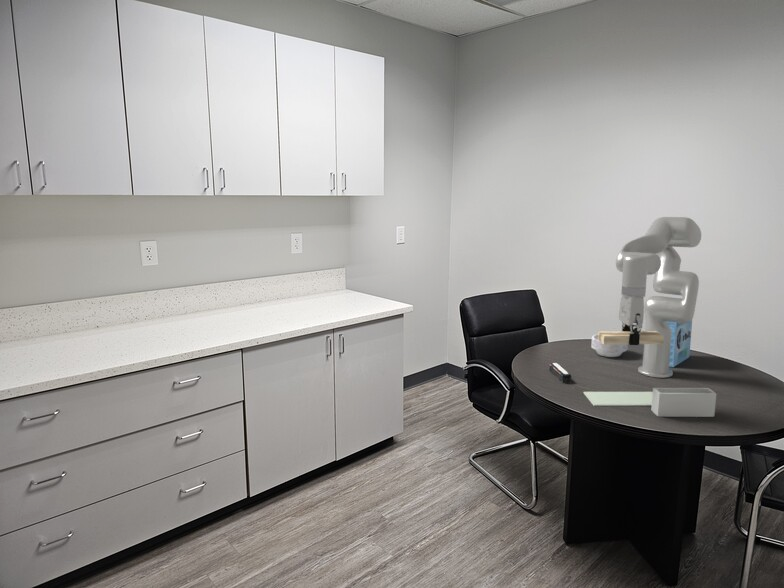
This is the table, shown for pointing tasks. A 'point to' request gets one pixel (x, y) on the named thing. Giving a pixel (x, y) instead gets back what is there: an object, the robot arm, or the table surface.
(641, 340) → the beige wooden block
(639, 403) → the mat
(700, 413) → the box
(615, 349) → the paper bowls
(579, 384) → the table surface
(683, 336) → the gum box
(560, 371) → the bus
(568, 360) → the table surface
